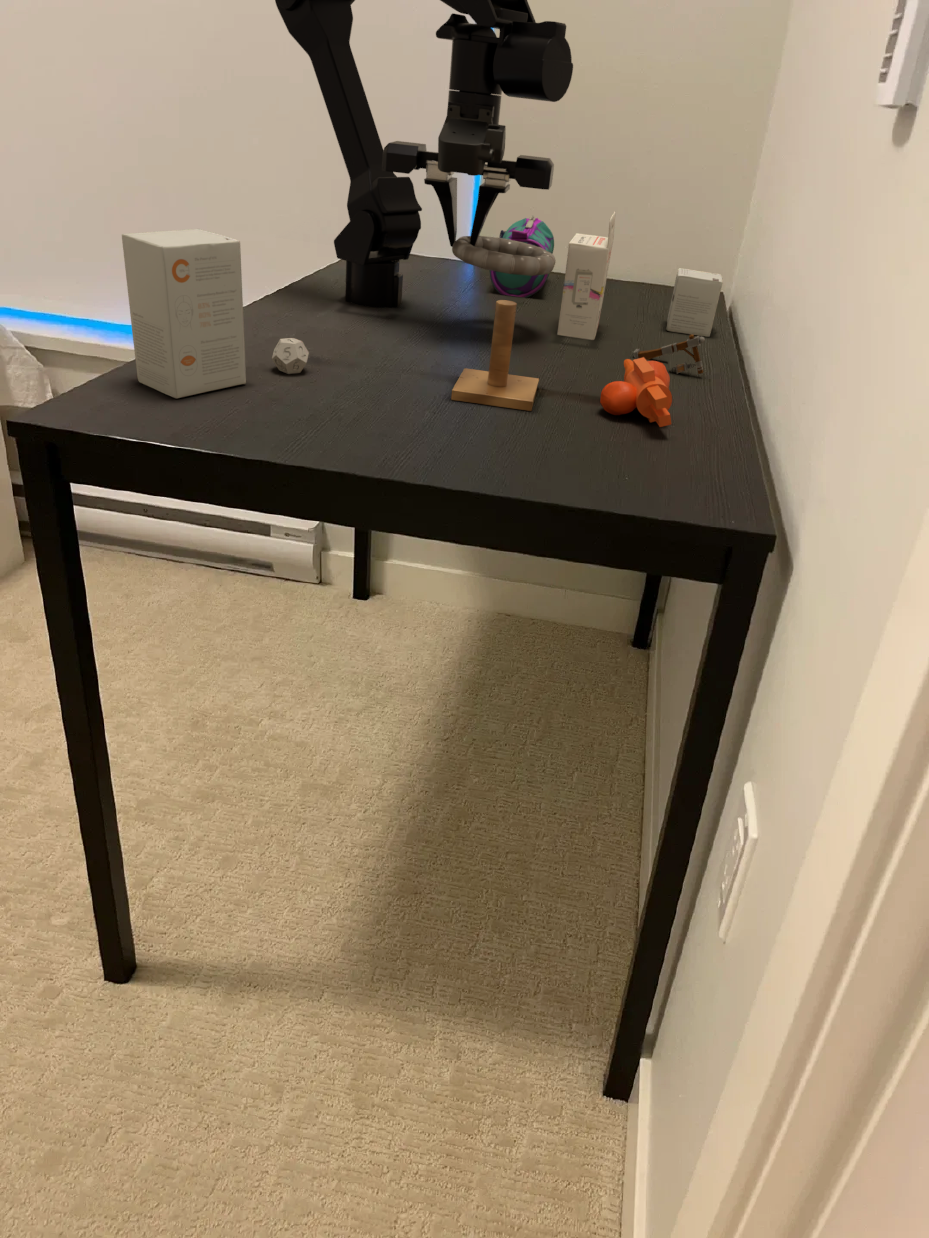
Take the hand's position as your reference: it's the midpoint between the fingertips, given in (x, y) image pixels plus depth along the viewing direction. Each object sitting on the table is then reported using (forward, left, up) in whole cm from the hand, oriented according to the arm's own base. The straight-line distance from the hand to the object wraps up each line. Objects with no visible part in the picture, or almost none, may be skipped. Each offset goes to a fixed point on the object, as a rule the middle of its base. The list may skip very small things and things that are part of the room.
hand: (462, 247), depth 104 cm
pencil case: (+5, +32, -10) cm, 34 cm away
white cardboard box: (+30, +20, -10) cm, 37 cm away
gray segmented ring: (+5, 0, 0) cm, 5 cm away
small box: (-20, -31, -10) cm, 39 cm away
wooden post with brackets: (+26, -3, -10) cm, 28 cm away
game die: (-13, -23, -10) cm, 29 cm away
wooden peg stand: (+8, -21, -10) cm, 25 cm away
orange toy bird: (+22, -22, -10) cm, 33 cm away
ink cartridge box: (+15, +7, -10) cm, 19 cm away
